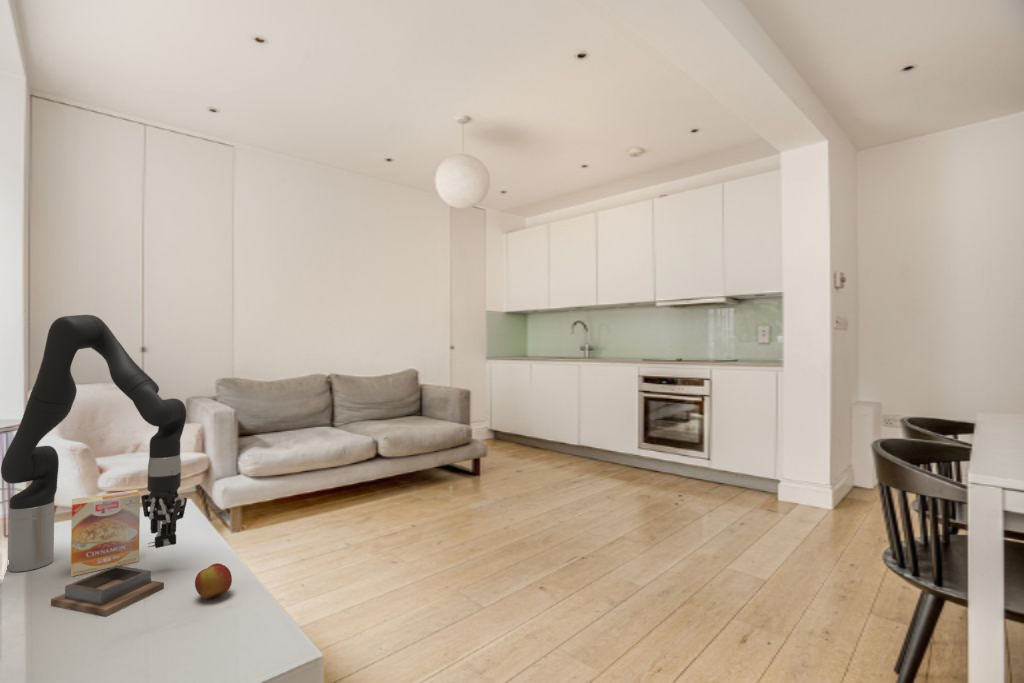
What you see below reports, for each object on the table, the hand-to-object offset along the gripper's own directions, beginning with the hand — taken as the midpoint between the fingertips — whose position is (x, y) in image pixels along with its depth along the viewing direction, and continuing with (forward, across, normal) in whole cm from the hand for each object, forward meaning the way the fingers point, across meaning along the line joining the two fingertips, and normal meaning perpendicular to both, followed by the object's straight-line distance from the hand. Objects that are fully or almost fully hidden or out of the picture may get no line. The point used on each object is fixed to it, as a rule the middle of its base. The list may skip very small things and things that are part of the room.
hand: (163, 533), depth 137 cm
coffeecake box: (+11, -20, -1) cm, 22 cm away
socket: (+9, 0, -14) cm, 17 cm away
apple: (+10, +26, -7) cm, 28 cm away
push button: (+4, 0, 0) cm, 4 cm away
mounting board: (+10, 0, -14) cm, 18 cm away
